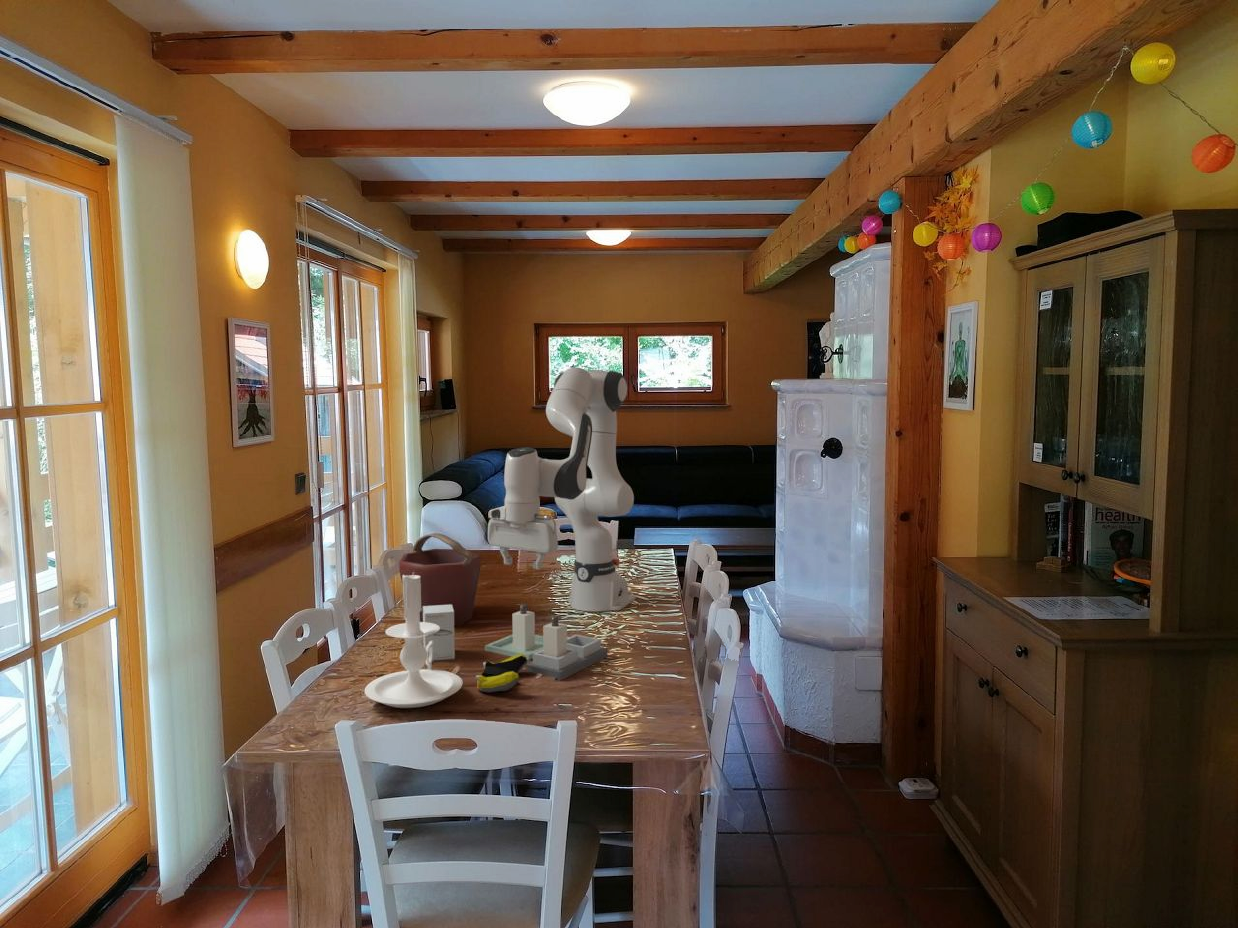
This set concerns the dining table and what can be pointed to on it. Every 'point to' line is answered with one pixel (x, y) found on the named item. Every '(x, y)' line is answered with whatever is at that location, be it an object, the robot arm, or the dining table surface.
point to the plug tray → (506, 648)
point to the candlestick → (413, 660)
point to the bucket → (444, 575)
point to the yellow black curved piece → (501, 674)
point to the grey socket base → (564, 652)
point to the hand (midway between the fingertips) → (522, 566)
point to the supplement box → (440, 631)
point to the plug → (523, 629)
